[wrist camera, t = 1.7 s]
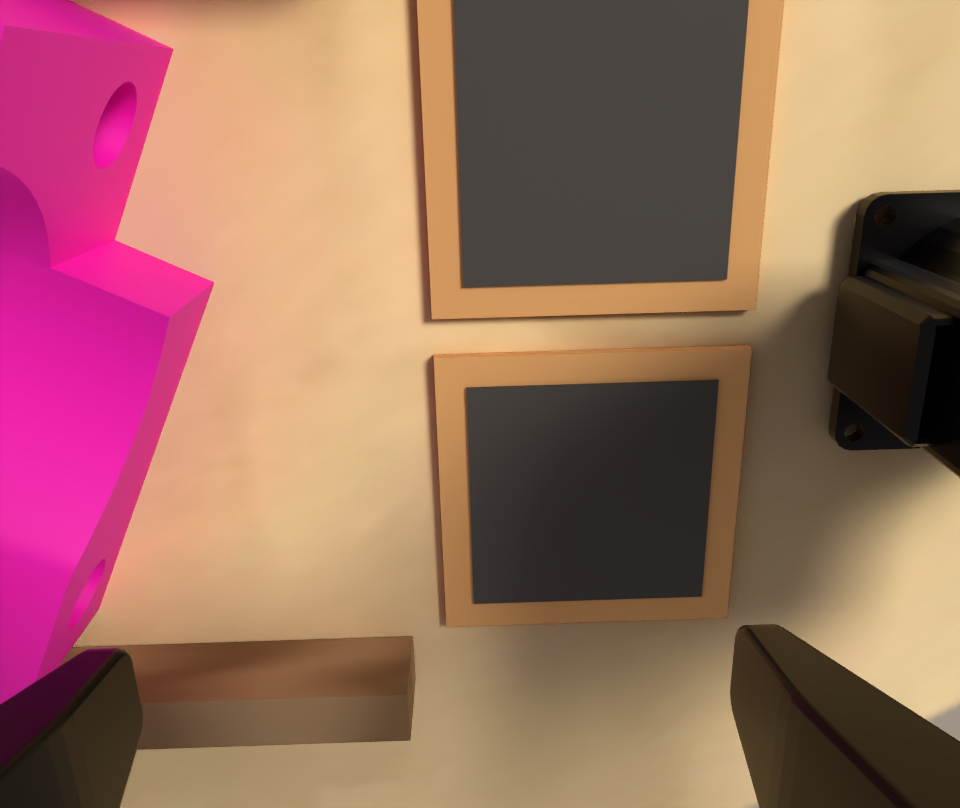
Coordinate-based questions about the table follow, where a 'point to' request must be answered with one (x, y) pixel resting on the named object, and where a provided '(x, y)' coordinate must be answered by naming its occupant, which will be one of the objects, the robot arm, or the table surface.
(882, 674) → the table surface
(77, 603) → the toy block
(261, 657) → the channel
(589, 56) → the pit traps
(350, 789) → the table surface
